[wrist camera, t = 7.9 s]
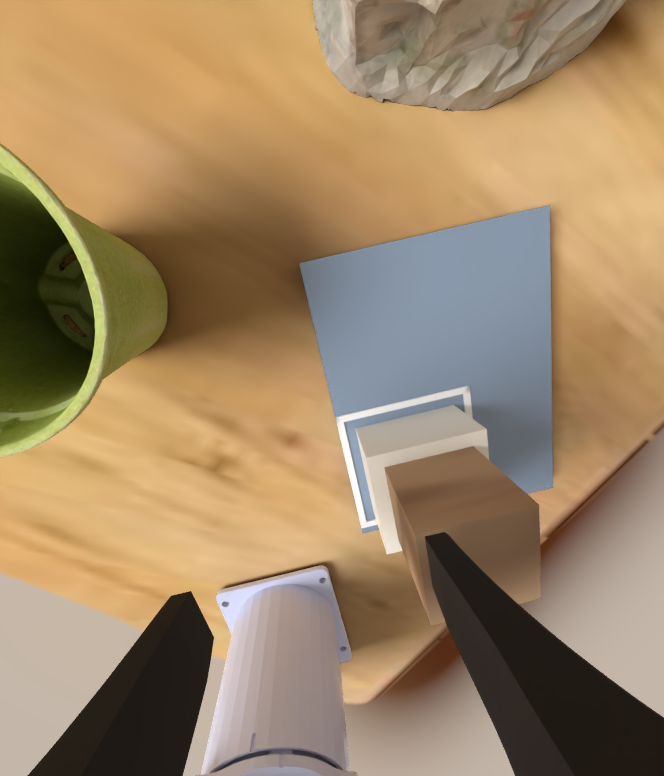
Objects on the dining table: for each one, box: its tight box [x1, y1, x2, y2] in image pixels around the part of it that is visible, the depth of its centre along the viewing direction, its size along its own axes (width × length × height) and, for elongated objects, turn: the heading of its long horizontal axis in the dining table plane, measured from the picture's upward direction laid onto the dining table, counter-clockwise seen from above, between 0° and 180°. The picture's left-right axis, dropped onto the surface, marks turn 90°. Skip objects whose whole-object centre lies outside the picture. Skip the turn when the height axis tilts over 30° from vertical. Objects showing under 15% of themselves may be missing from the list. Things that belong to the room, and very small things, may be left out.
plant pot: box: [0, 144, 168, 457], centre depth 12 cm, size 9×9×9 cm
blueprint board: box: [299, 205, 553, 533], centre depth 18 cm, size 17×13×1 cm
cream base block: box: [355, 405, 489, 554], centre depth 18 cm, size 6×6×4 cm
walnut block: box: [384, 446, 542, 626], centre depth 14 cm, size 4×4×4 cm
